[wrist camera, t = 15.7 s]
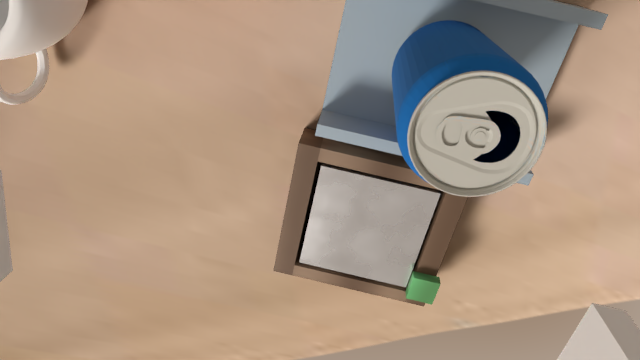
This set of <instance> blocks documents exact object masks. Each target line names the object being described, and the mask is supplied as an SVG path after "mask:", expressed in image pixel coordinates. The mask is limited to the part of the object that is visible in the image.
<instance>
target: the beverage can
mask: <svg viewBox="0 0 640 360" xmlns="http://www.w3.org/2000/svg"><path fill="white" fill-rule="evenodd" d="M392 88H393V100H394V111H395V122H396V134H397V141H398V145H399V148H400V151H401V154H402V156H403V158H404V160H405V161H406V163H407V164H408V166H409V167H410V168H411V169H412V170H413V171H414V172H415V174H416V175H418V176H419V177H420V178H421V179H423V180H424V181H426V182H427V183H429V184H430V185H432V186H434V187H435V188H437V189H439V190H441V191H443V192H446V193H449V194H452V195H457V196H464V197H478V196H485V195H489V194H493V193H496V192H499V191H501V190H504V189H506V188H508V187H510V186H512V185H513V184H515V183H516V182H518V181H519V180H520V179H521V178H523V177H524V176H525V175H526V174H527V173H528V172H529V171H530V170H531V169H532V167H533V166H534V165H535V163H536V162H537V160H538V158H539V157H540V155H541V153H542V150H543V148H544V145H545V141H546V135H547V124H548V108H547V103H546V99H545V96H544V93H543V91H542V89H541V87H540V85H539V83H538V82H537V81H536V79H535V78H534V77H533V75H532V74H531V73H529V72H528V71H527V70H526V69H525V68H524V67H523V66H522V65H520V64H519V63H518V62H517V61H516V60H514V59H513V58H512V57H511V56H510V55H508V54H507V53H506V52H505V51H504V50H502V49H501V48H500V47H499V46H498V45H496V44H495V43H494V42H493V41H492V40H491V39H489V38H488V37H487V36H486V35H485V34H483V33H482V32H481V31H480V30H478V29H477V28H475V27H474V26H472V25H470V24H467V23H464V22H460V21H455V20H444V21H438V22H433V23H430V24H428V25H425V26H423V27H422V28H420V29H418V30H417V31H415V32H414V33H413V34H411V35H410V36H409V37H408V38H407V39H406V40H405V42H404V43H403V44H402V46H401V47H400V48H399V50H398V52H397V54H396V57H395V59H394V62H393V67H392Z"/></svg>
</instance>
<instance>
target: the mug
mask: <svg viewBox="0 0 640 360" xmlns="http://www.w3.org/2000/svg"><path fill="white" fill-rule="evenodd" d="M87 2H88V0H0V60H3V59H13V58H17V57H21V56H26V55H30V54H33V53H36V56H37V62H38V69H37V75H36V78H35V80H34V81H33V83H32V84H31V85H30V86H29V87H28V88H27V89H26V90H24V91H23V92H20V93H18V94H10V93H7V92H5V91H4V90H3V89H2V88H1V85H0V102H3V103H6V104H13V105H16V104H21V103H25V102H28V101H30V100H32V99H33V98H34V97H36V96H37V95H38V94H39V93H40V92H41V90H42V89H43V88H44V86H45V84H46V82H47V78H48V74H49V57H48V53H47V49H46V48H48V47H50V46H52V45H54V44H56V43H57V42H59V41H60V40H61V39H63V38H64V37H65V36H67V35H68V34H69V33H70V32H71V31H72V30H73V29H74V27H75V26H76V25H77V24H78V23H79V21H80V19H81V18H82V16H83V14H84V11H85V9H86V6H87Z"/></svg>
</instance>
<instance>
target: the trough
mask: <svg viewBox="0 0 640 360" xmlns="http://www.w3.org/2000/svg"><path fill="white" fill-rule="evenodd" d="M607 16H608V14H604V13H601V12H598V11H594V10H591V9H587V8H584V7H580V6H576V5H572V4H567V3H563V2H559V1H554V0H346V2H345V7H344V12H343V16H342V21H341V26H340V30H339V35H338V40H337V44H336V49H335V53H334V58H333V63H332V67H331V72H330V77H329V81H328V86H327V91H326V95H325V100H324V104H323V109H322V112H321V115H320V118H319V121H318V124H317V128H316V133H315V136H319V137H323V138H328V139H332V140H336V141H340V142H345V143H349V144H353V145H357V146H362V147H366V148H370V149H375V150H379V151H383V152H387V153H392V154H396V155H400V156H402V154H401V151H400V148H399V145H398V141H397V134H396V122H395V111H394V100H393V88H392V67H393V62H394V59H395V57H396V54H397V52H398V50H399V48H400V47H401V46H402V44H403V43H404V42H405V40H406V39H407V38H408V37H409V36H410V35H411V34H413V33H414V32H415V31H417V30H418V29H420V28H422V27H423V26H425V25H428V24H430V23H433V22H438V21H444V20H455V21H460V22H464V23H467V24H470V25H472V26H474V27H475V28H477V29H478V30H480V31H481V32H482V33H483V34H485V35H486V36H487V37H488V38H489V39H491V40H492V41H493V42H494V43H495V44H496V45H498V46H499V47H500V48H501V49H502V50H504V51H505V52H506V53H507V54H508V55H510V56H511V57H512V58H513V59H514V60H516V61H517V62H518V63H519V64H520V65H522V66H523V67H524V68H525V69H526V70H527V71H528V72H529V73H531V74H532V75H533V77H534V78H535V79H536V81H537V82H538V83H539V85H540V87H541V89H542V91H543V93H544V96H545V99H546V98H547V95H548V93H549V91H550V88H551V86H552V84H553V82H554V79H555V77H556V75H557V73H558V70H559V68H560V66H561V64H562V61H563V59H564V57H565V55H566V52H567V50H568V48H569V46H570V43H571V41H572V39H573V37H574V34H575V32H576V30H577V28H578V25H583V26H587V27H591V28H596V29H600V30H601V29H602V27H603V25H604V23H605V20H606V18H607ZM533 175H534V174H533V173H532V171H531V170H530V171H529V172H528V173H527V174H526V175H525V176H524V177H523V178H521V179H520V180H519V181H518V182H516V183H520V184H524V185H529V183H530V181H531V179H532V177H533Z"/></svg>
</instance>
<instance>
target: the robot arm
mask: <svg viewBox="0 0 640 360" xmlns="http://www.w3.org/2000/svg"><path fill="white" fill-rule="evenodd" d="M11 271H13V269H12V260H11V252H10V243H9V234H8V225H7V217H6V208H5V199H4V191H3V182H2V173H1V170H0V281H2V280H3V279H4V278H5V277H6V276H7V275H8V274H9V273H10V272H11ZM557 360H640V330H639V328H638V327H637V325H636V324H635V323H634V321H633V320H632V319H631V317H630V316H629V314H628V313H627V312H626V311H625V310H621V309H616V308H612V307H608V306H603V305H599V304H594V303H592V304H591V305H590V307H589V309H588V310H587V312H586V314H585V315H584V317H583V318H582V320H581V322H580V324H579V325H578V326H577V328H576V330H575V332H574V333H573V335H572V336H571V338H570V339H569V341H568V343H567V344H566V346H565V347H564V349H563V351H562V352H561V354H560V356H559V357H558V359H557Z"/></svg>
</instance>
